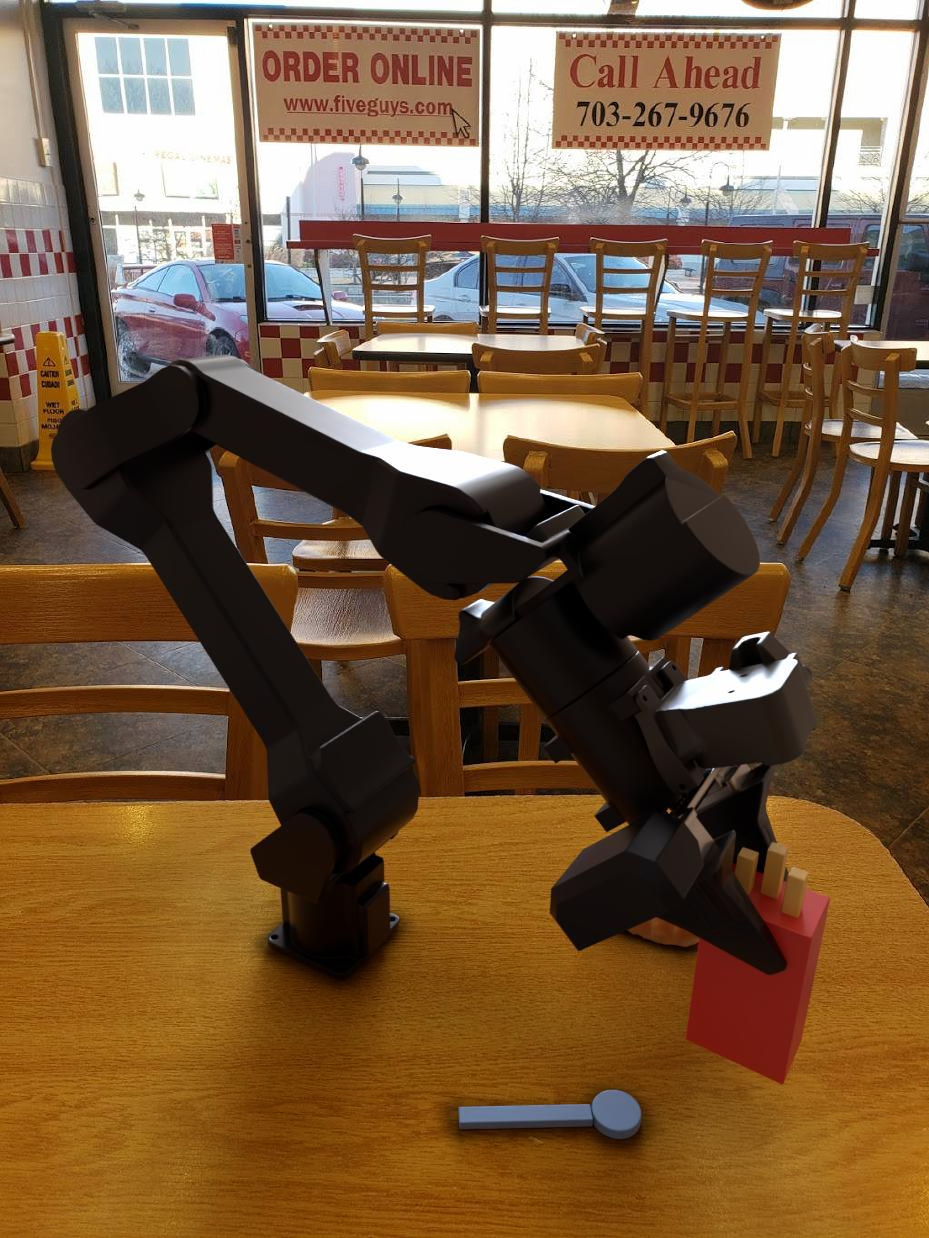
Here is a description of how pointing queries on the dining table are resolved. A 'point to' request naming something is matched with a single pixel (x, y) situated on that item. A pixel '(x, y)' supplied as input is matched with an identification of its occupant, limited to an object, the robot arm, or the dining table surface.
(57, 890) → the dining table surface
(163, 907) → the dining table surface
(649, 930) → the pastry
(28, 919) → the dining table surface
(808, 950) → the fries carton
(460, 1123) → the spoon
